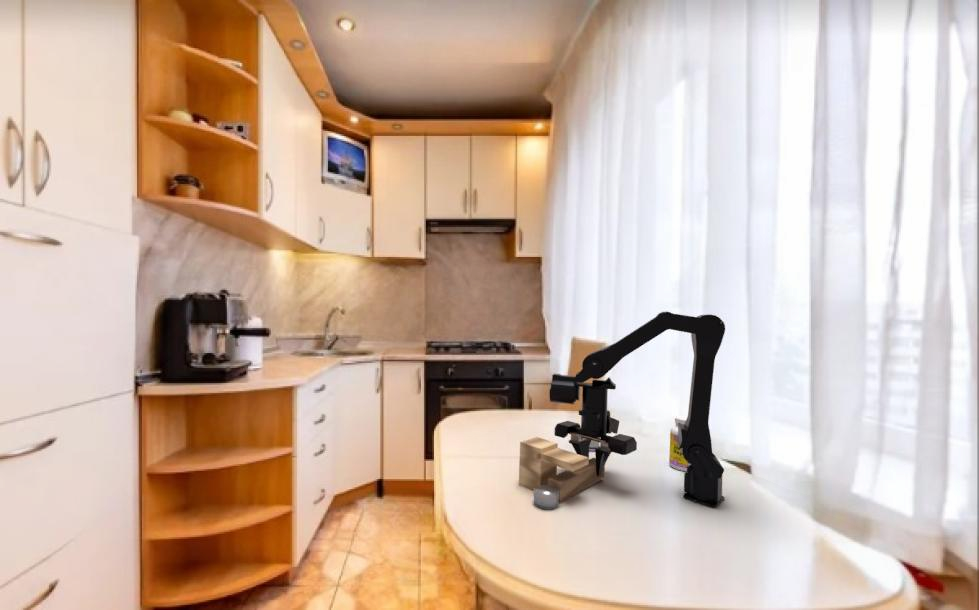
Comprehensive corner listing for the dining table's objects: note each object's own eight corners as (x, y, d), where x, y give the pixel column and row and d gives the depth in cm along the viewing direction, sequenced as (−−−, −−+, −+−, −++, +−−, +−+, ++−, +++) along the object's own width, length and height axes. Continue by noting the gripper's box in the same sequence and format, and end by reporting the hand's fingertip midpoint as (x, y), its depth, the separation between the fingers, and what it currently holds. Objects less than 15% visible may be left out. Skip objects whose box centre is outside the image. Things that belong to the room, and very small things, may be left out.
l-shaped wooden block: (587, 497, 88) (588, 452, 88) (571, 506, 83) (572, 459, 84) (535, 477, 98) (536, 437, 98) (518, 484, 93) (520, 442, 93)
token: (563, 505, 84) (564, 490, 84) (548, 513, 80) (548, 497, 81) (544, 497, 88) (544, 482, 88) (528, 504, 84) (529, 489, 84)
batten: (604, 478, 98) (604, 461, 98) (559, 502, 85) (560, 483, 85) (593, 474, 100) (593, 457, 100) (547, 497, 87) (548, 478, 87)
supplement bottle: (668, 469, 106) (669, 418, 106) (670, 461, 112) (671, 413, 112) (697, 474, 103) (698, 422, 103) (697, 466, 109) (699, 417, 109)
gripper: (648, 409, 96) (646, 476, 96) (579, 395, 109) (577, 455, 109) (625, 416, 88) (623, 490, 88) (554, 401, 101) (552, 465, 101)
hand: (592, 473), depth 97 cm, fingers closed on batten, 3 cm apart
